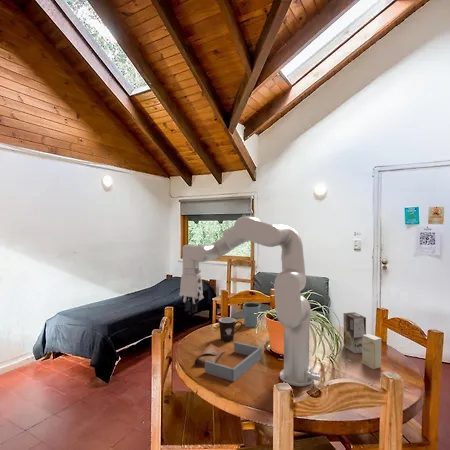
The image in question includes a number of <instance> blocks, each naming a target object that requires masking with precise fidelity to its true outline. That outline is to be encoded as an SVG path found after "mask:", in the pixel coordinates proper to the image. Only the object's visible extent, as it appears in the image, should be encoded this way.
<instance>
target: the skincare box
mask: <svg viewBox="0 0 450 450" xmlns="http://www.w3.org/2000/svg"><path fill="white" fill-rule="evenodd" d="M361 355H362V356H361V364H363V365H364V366H366V367H369V368H370V369H373V370H375V369H380V368H381V366H382V338H381V337H379V336H376V335H374V334H371V333H366V334H365V335H363V343H362V353H361Z"/></svg>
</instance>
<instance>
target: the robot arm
mask: <svg viewBox="0 0 450 450" xmlns="http://www.w3.org/2000/svg"><path fill="white" fill-rule="evenodd" d="M246 242H252V243H253V244H254V243H255V244H258V245H261V246H263V247H268V248H275V247H280V249H281V254H280V256H281V257H280V261H281V271H280V272H279V273H278V274H277V275H276V277H275V279H274V283H273V284H274V285H273V291H274V301H275V302H274V304H275V313H276V314H275V315H276V318H277V320H278V322H279V323H280V324H281V326H283V369H281V371H280V372H279V378H280V380H281V381H282V382H284V383H285V382H286V383H285V384H287V383H289V384H288V385H290V386H294V387H307V386H309V385H312V384H313V382H314V381H316V382H321V378H322V377H321V375H320V372H317V371H313V369H312V368H313V367H312V366H310V324H311V314H312V313H311V311H312V310H311V304H310V302H309V301H308V299H307V298H305V297H304V296H303V295H301V291H303V290H304V289H305V287H306V284H307V279H306V278H307V277H306V268H305V257H304V245H303V242H302V238H301V237H300V234H299V233H298V231H296V230H295V229H294V228H292V227H291V226H288V225H286V224H282V223H274V224H273V223H272V224H271V223H268V222H263V221H261V220H260V219H259V218H257V216H256V217H255V216H249V215H248V216H247V215H246V216H241V217H239V218H237V219H236V221H234V223H233V225H232V226H231V227H229V228H227V229H225V230H224V231H223V232H222V237H221V238H219V239H217V240H216V241H214V242H212V243H208V244H201V245H197V244H185V245H183V247H182V274H181V277H180V286H179V288H180V289H179V293H178V296H180V297H181V299H182V302H183V303H184V312H188V311H190V310H191V313H193V314H194V313H197V312H198V303H199V302H200V301H201V300H203V299H204V298H205V297H204V295H203V293H204V292H203V279H202V275H201V274H200V273H201V269H200V263H205V262H209V261H210V262H211V261H215V260H217V259H220V258H221V257H223V256H225V255H226V254H227V255H228V253H230V252H231V251H232V250H234V249H236V248H237V247H239V246H241V245H243V244H245V243H246ZM190 298H192V303H191V302H190Z"/></svg>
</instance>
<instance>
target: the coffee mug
mask: <svg viewBox="0 0 450 450" xmlns="http://www.w3.org/2000/svg"><path fill="white" fill-rule="evenodd" d="M236 320H237V319H235V318H233V317H226V316H225V317H220V318H219V319H218V325H219V334H220V340H221V342H224V343H230V342H233V341H234V339H235V334H236V333H238V332H239V331H240V330H241V329H242V328H243V322H242V321H236ZM238 323H239V324H240V327H239V328H238V329H237V330H235V328H236V325H237V324H238Z"/></svg>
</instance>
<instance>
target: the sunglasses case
mask: <svg viewBox="0 0 450 450" xmlns="http://www.w3.org/2000/svg"><path fill="white" fill-rule="evenodd" d="M225 353H226V351H225V350H223V349H221V348H219V347H217V346H216V345H214V344H212V343H211V342H210V343H209V345H207V347H205V348H204V350H202V352H201V353H200V354H199V355H198V356H197V358H196V359H195V361H194V365H195V366H196V367H199V368H200V367H202V368H205V361H206V360H207V361H210V362H213V363H218V361H219V359H220V358H221V357H222V355H223V354H225Z"/></svg>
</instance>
